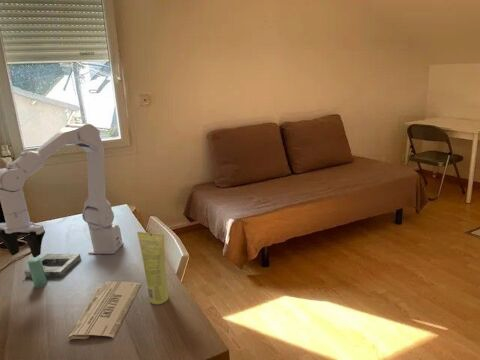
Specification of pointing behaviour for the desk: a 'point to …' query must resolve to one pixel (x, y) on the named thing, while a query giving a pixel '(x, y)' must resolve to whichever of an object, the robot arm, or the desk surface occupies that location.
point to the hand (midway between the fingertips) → (26, 254)
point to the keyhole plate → (55, 259)
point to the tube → (154, 266)
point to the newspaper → (105, 310)
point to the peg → (37, 272)
